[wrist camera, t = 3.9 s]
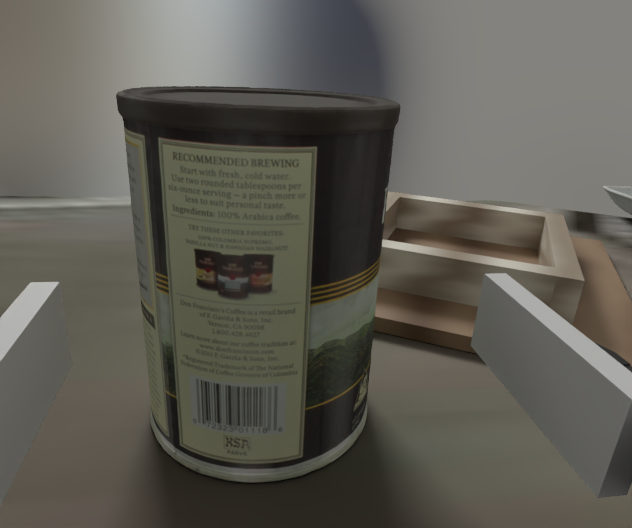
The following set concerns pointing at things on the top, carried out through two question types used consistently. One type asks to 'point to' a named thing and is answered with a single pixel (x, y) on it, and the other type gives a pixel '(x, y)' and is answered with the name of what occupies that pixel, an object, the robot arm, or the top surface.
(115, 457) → the top surface
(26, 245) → the top surface
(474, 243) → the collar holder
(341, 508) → the top surface
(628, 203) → the square plate
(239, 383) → the coffee can
